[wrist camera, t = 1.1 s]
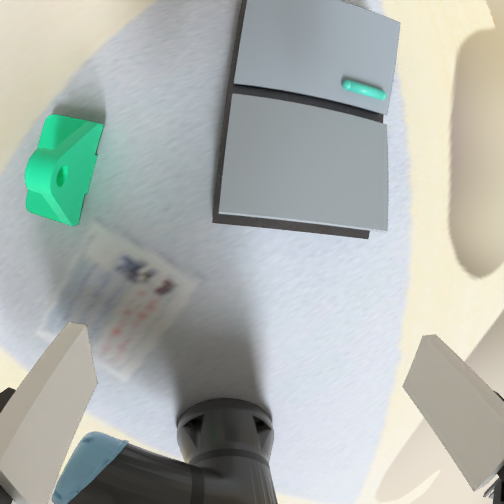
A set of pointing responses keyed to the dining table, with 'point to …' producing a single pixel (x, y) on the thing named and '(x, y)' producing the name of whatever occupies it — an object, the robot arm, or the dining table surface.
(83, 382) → the robot arm
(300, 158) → the panel
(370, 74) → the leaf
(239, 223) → the levelling base
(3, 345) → the dining table surface
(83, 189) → the camera mount
